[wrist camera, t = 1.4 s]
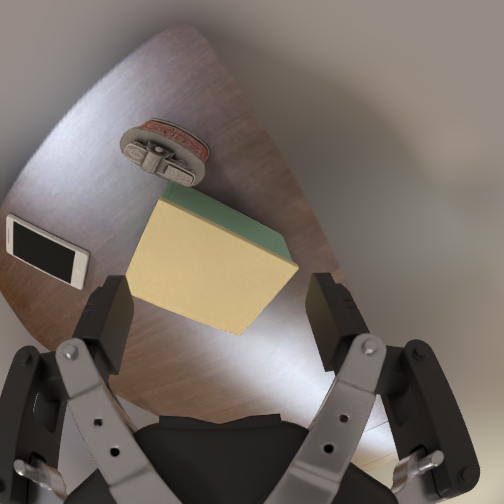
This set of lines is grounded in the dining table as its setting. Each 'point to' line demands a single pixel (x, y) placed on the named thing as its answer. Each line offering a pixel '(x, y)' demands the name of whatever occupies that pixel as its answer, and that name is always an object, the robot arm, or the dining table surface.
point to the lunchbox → (226, 217)
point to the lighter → (166, 151)
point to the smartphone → (46, 252)
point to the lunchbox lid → (204, 269)
